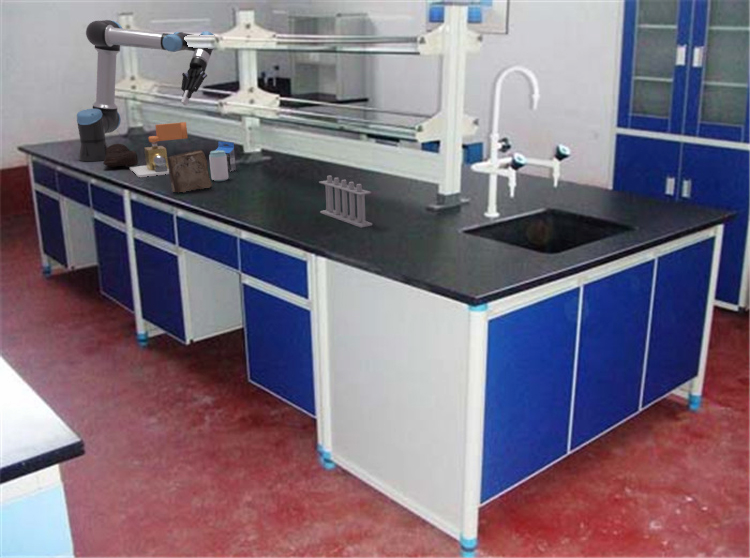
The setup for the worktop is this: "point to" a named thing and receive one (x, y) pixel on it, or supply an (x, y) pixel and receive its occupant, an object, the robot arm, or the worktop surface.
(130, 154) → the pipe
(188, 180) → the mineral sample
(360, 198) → the test tube rack
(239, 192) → the worktop surface
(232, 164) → the label tape cartridge
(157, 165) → the valve
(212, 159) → the can
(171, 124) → the lever
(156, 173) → the mount board
